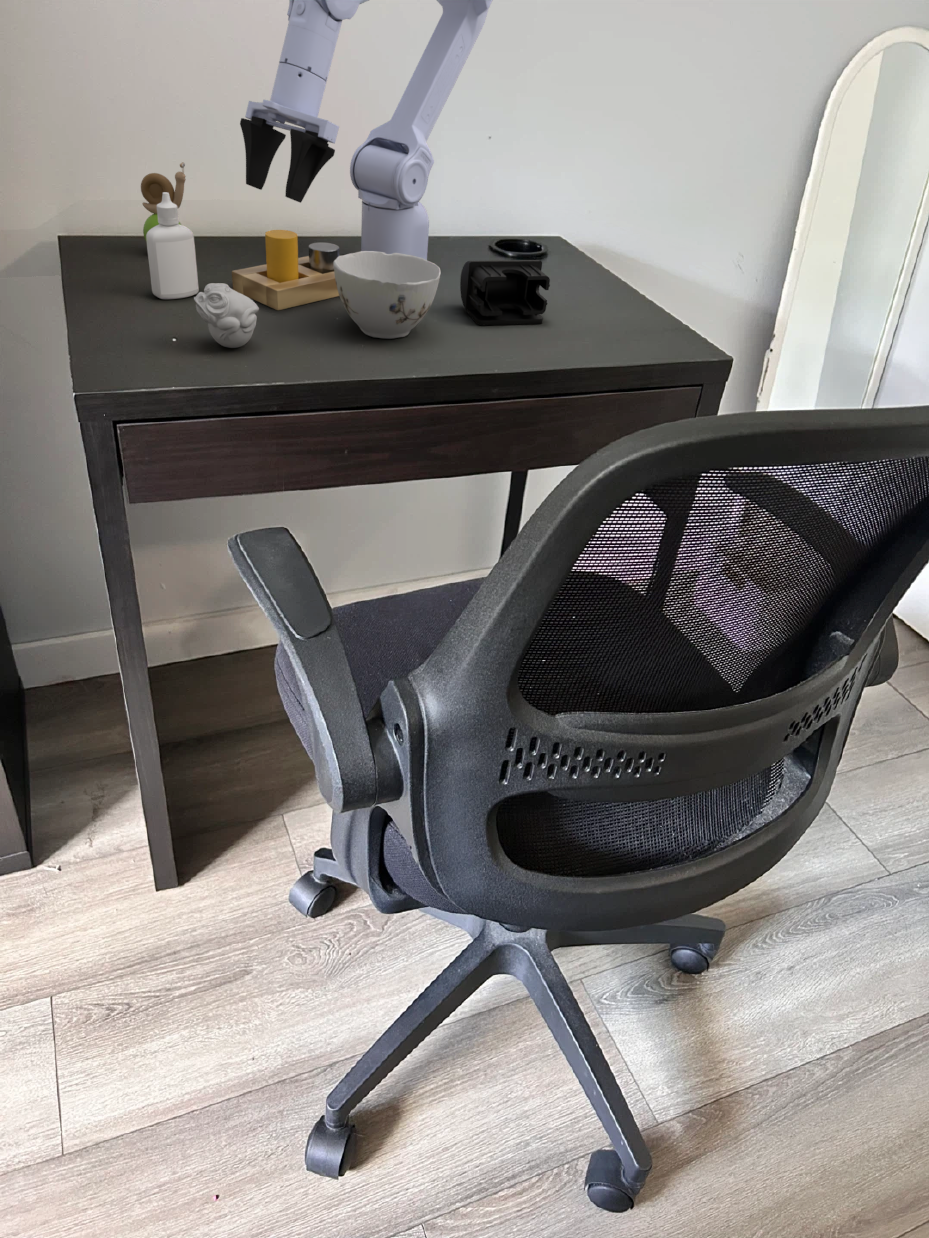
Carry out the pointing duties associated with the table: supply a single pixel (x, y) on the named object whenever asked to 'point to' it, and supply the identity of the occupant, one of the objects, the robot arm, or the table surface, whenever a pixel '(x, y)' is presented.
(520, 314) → the end cap
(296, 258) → the yellow peg
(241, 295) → the frog figurine
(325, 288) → the peg stand
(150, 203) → the snail figurine
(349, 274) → the teacup
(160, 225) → the eye dropper bottle
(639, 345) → the table surface
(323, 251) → the steel peg
